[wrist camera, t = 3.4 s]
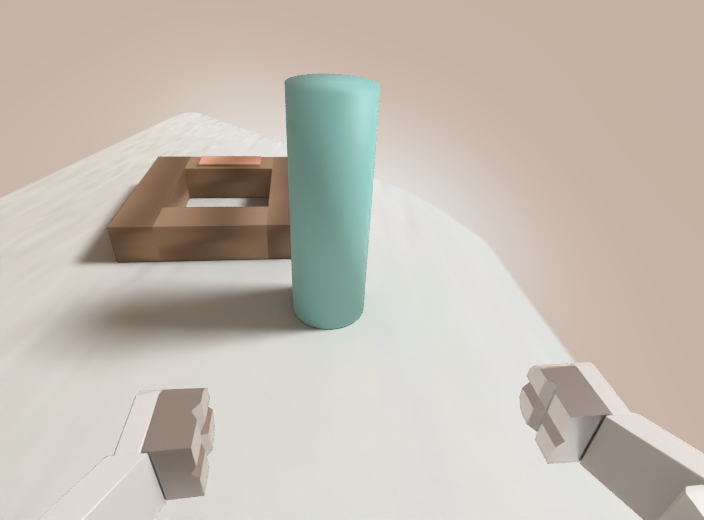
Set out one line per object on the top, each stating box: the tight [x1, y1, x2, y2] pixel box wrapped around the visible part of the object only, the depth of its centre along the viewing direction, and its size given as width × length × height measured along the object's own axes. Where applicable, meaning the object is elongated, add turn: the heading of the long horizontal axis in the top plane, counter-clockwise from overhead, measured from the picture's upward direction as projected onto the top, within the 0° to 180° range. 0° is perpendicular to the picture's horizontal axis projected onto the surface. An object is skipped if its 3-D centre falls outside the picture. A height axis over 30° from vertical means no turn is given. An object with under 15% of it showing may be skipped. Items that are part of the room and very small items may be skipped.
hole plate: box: [107, 156, 291, 262], centre depth 32 cm, size 12×12×3 cm
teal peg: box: [285, 74, 380, 329], centre depth 22 cm, size 4×4×12 cm
